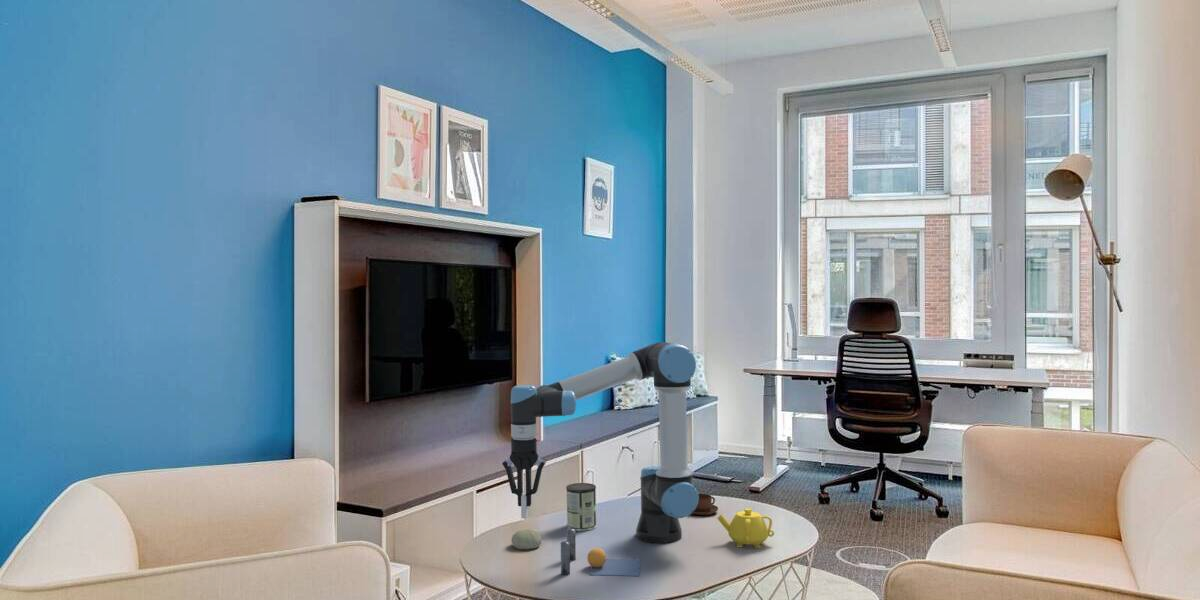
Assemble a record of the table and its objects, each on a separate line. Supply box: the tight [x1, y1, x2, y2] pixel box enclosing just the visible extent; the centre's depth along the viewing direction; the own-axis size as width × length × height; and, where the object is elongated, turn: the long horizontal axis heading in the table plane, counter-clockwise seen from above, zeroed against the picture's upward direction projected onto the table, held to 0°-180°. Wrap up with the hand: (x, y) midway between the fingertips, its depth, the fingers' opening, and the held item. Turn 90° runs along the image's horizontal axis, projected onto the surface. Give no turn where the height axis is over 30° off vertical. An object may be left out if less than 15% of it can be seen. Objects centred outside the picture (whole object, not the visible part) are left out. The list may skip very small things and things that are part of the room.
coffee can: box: [565, 482, 597, 532], centre depth 273 cm, size 10×10×14 cm
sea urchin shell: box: [511, 529, 543, 550], centre depth 252 cm, size 9×8×8 cm
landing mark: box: [589, 557, 642, 577], centre depth 232 cm, size 14×14×1 cm
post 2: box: [566, 528, 577, 562], centre depth 239 cm, size 3×3×9 cm
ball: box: [587, 547, 607, 568], centre depth 232 cm, size 6×6×6 cm
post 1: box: [560, 540, 571, 576], centre depth 227 cm, size 3×3×9 cm
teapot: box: [716, 507, 775, 548], centre depth 253 cm, size 14×14×11 cm
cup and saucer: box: [691, 493, 719, 516], centre depth 290 cm, size 12×12×6 cm
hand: (524, 516), depth 234 cm, fingers closed
